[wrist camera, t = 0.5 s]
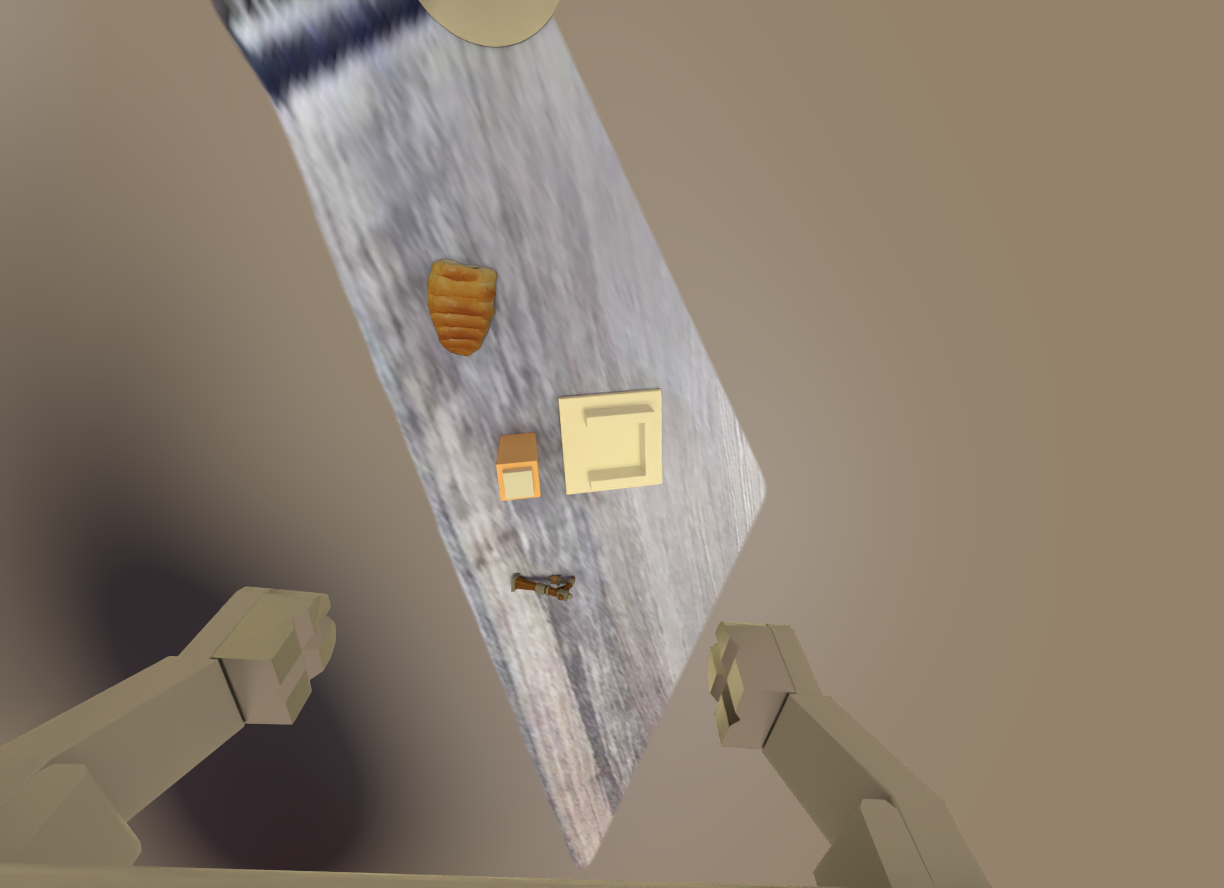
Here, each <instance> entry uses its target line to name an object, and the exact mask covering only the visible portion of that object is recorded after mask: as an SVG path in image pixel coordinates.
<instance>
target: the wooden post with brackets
mask: <svg viewBox="0 0 1224 888" xmlns="http://www.w3.org/2000/svg"><path fill="white" fill-rule="evenodd" d="M548 580H549V581H551V584H557V585H558V586H559V585H560V583H561V584H562V585H563V584H564V583H566V582H567V583H566V585H564V586H561V587H558V588H553V587H551V585H548V586H547V584H543V583H540V582H538V583H535V582H532V581H529V580H526V579H524V578H522V577H520V573H517V574H516V575H515V576H514V577H513V579H512V580H511V592H514V591H515V590H516V589H526V590H533V591H535V592H536V593H541V594H543V595H544V594H545V595H547V596H548V595H551V596H555V597H557V599H558V600H564V601H567V599H572V597H573V596H572V594H570V593H569V589H570V588H572V586H573V584H574V582H575V577H571V578H570V579H569V580H568V581H565V580H563V579H562V578H561V575H560V577H559V576H555V575H553V576H552V577H551V576H549V577H548Z"/></svg>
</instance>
